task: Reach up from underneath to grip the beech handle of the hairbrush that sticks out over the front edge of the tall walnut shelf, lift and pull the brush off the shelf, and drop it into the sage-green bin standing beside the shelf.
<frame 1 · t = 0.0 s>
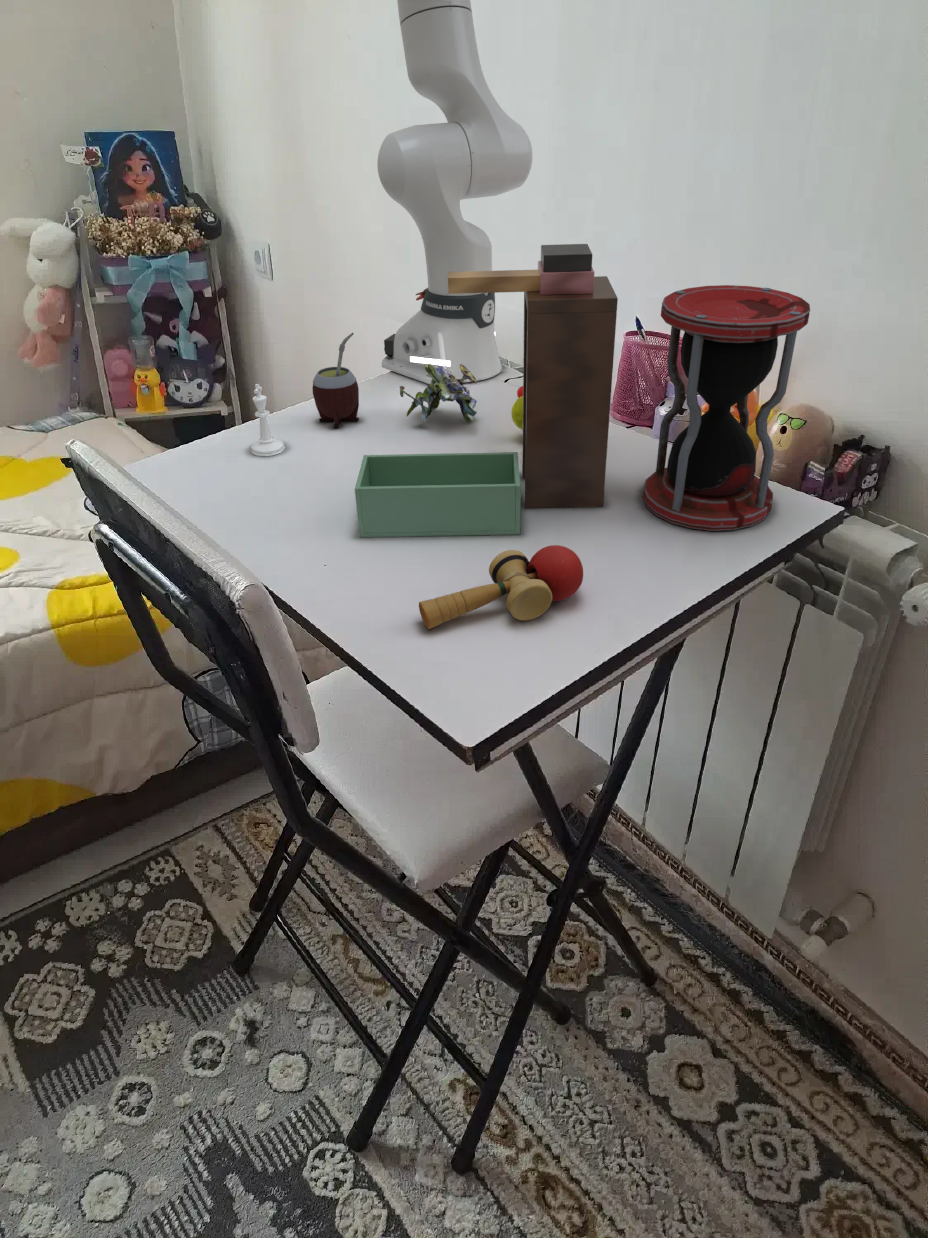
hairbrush: (545, 288, 100), point 26 cm above the table, touching shelf stand
mate gourd: (341, 422, 137), on the table
kendama: (503, 611, 92), on the table
chess piece: (268, 450, 129), on the table
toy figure: (529, 440, 129), on the table
bin: (441, 517, 109), on the table
hourglass: (705, 503, 111), on the table
shelf stand: (561, 490, 115), on the table
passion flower: (442, 424, 135), on the table
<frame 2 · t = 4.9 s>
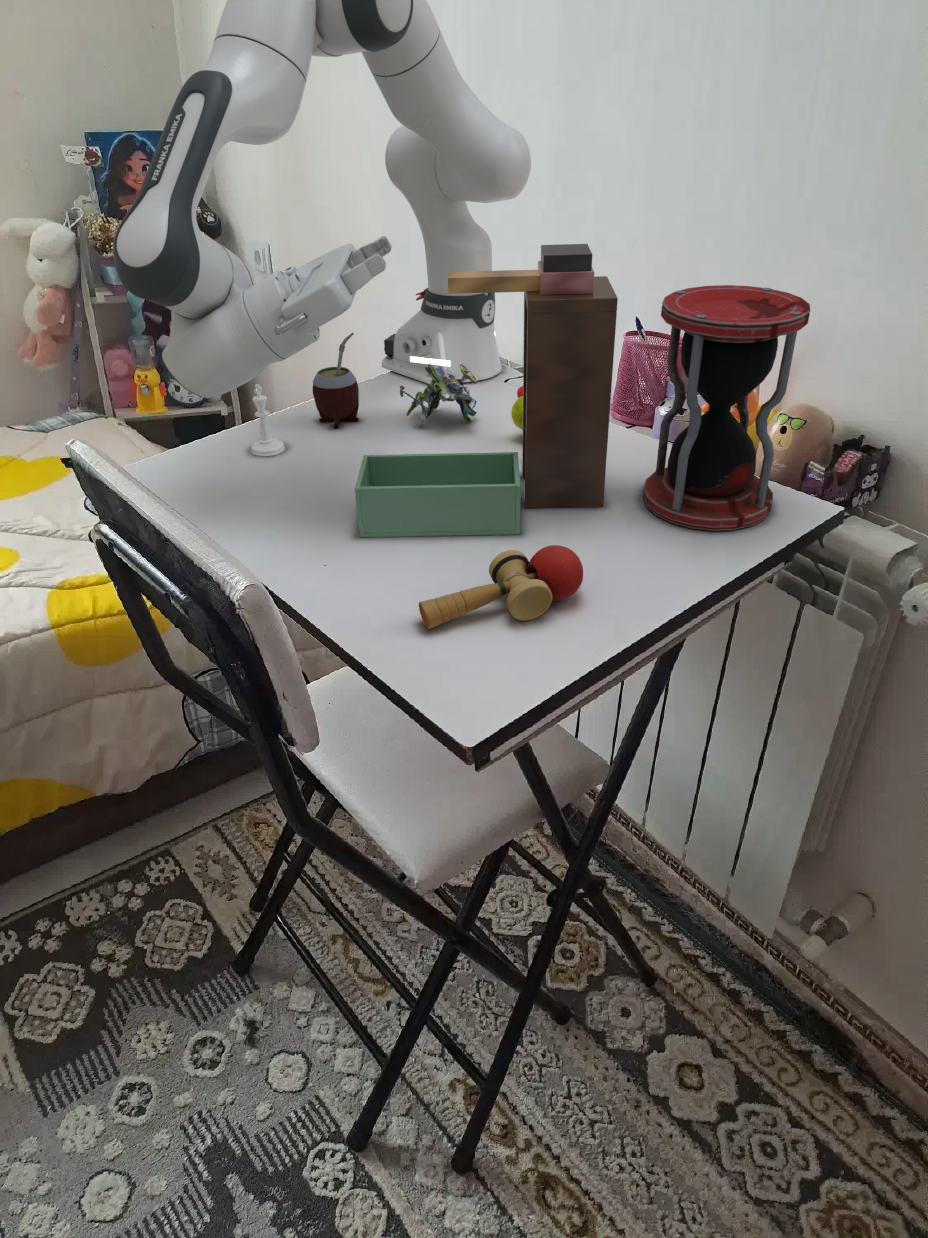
hand: (386, 250, 98), 31 cm above the table, tool pointing upward, fingers open, 8 cm apart
nothing on the table moved.
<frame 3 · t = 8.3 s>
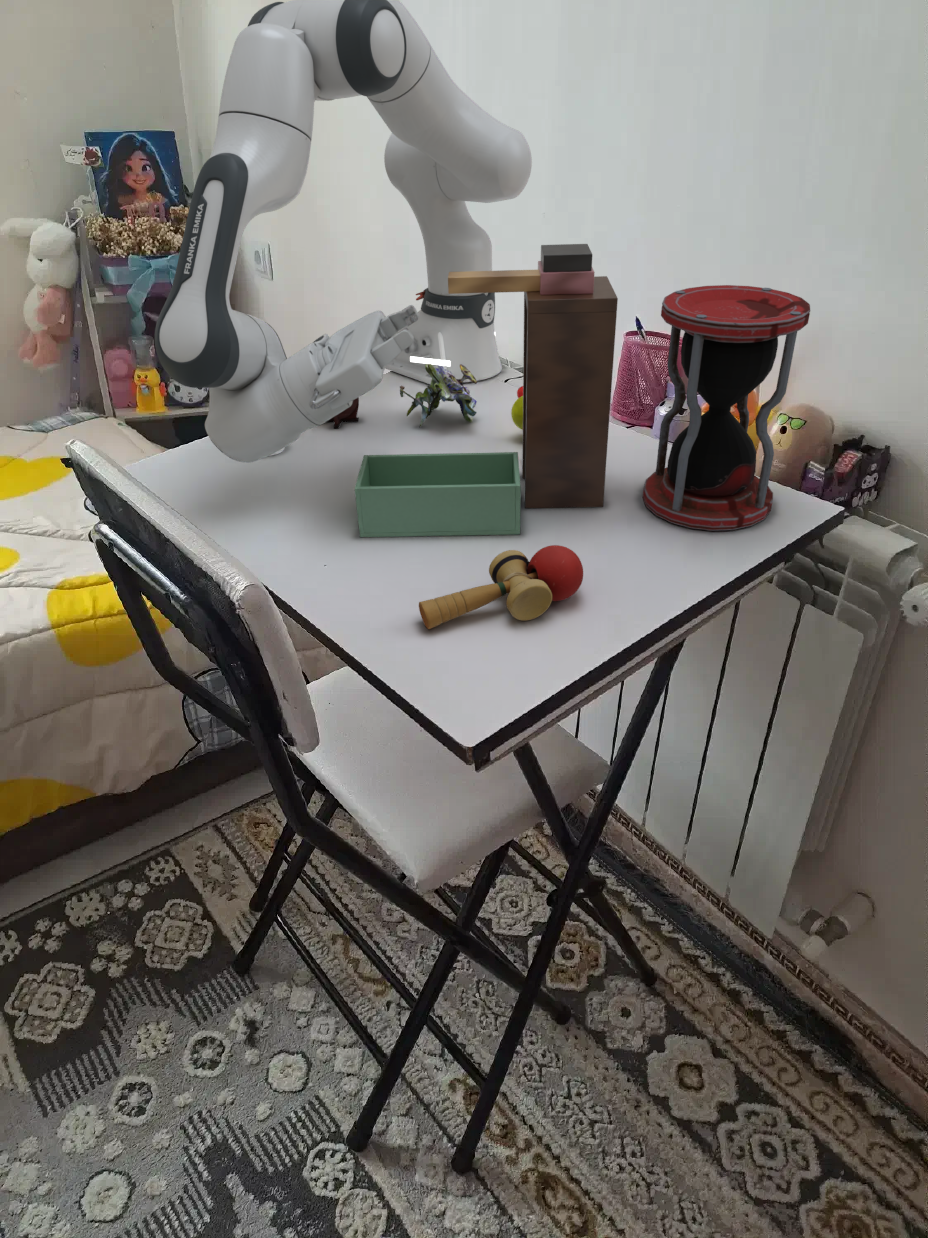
hand: (413, 322, 102), 22 cm above the table, tool pointing upward, fingers open, 8 cm apart
nothing on the table moved.
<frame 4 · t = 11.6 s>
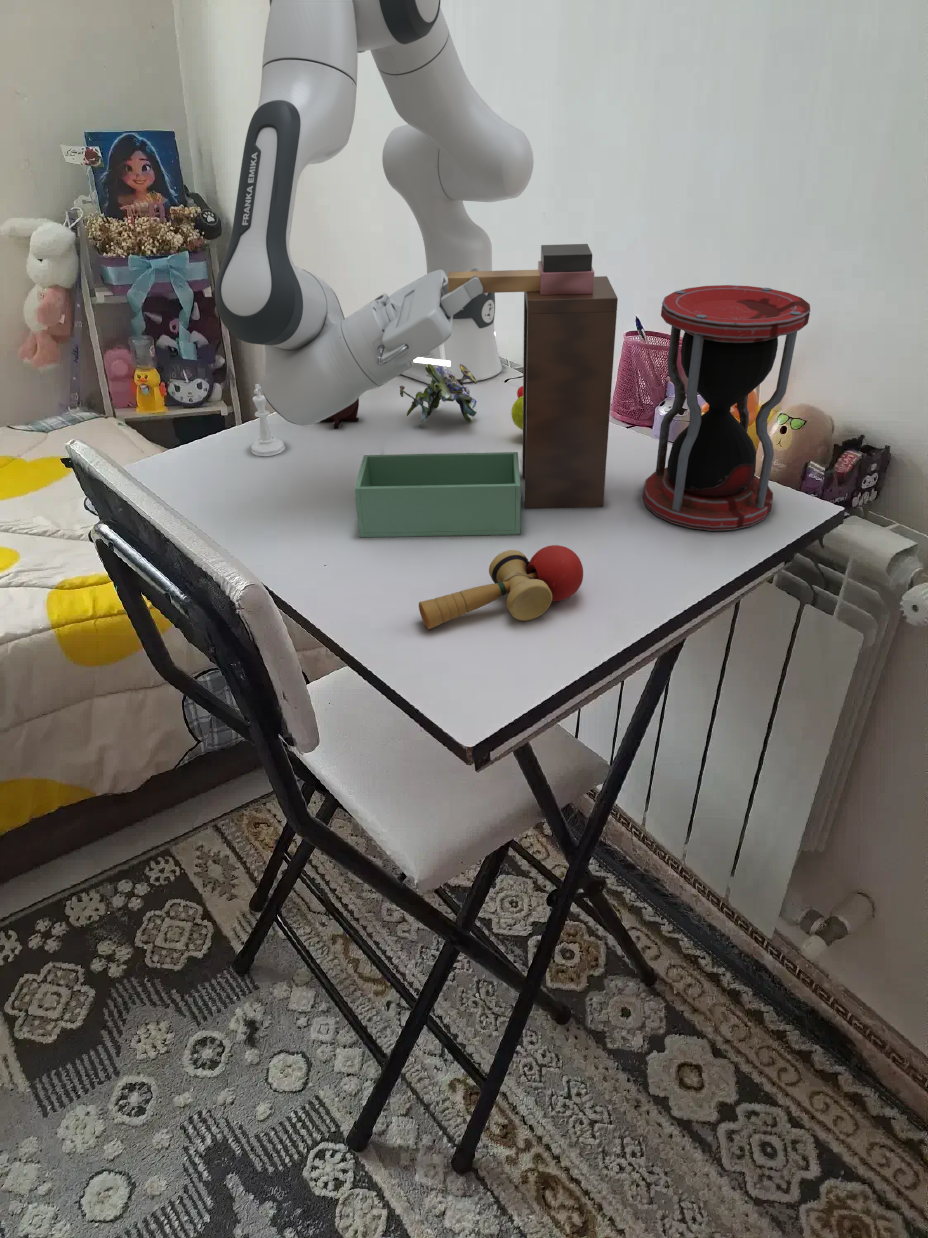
hand: (480, 277, 99), 27 cm above the table, tool pointing upward, fingers closed on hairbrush, 3 cm apart
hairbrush: (545, 288, 100), point 26 cm above the table, touching gripper, shelf stand
everything else where it was.
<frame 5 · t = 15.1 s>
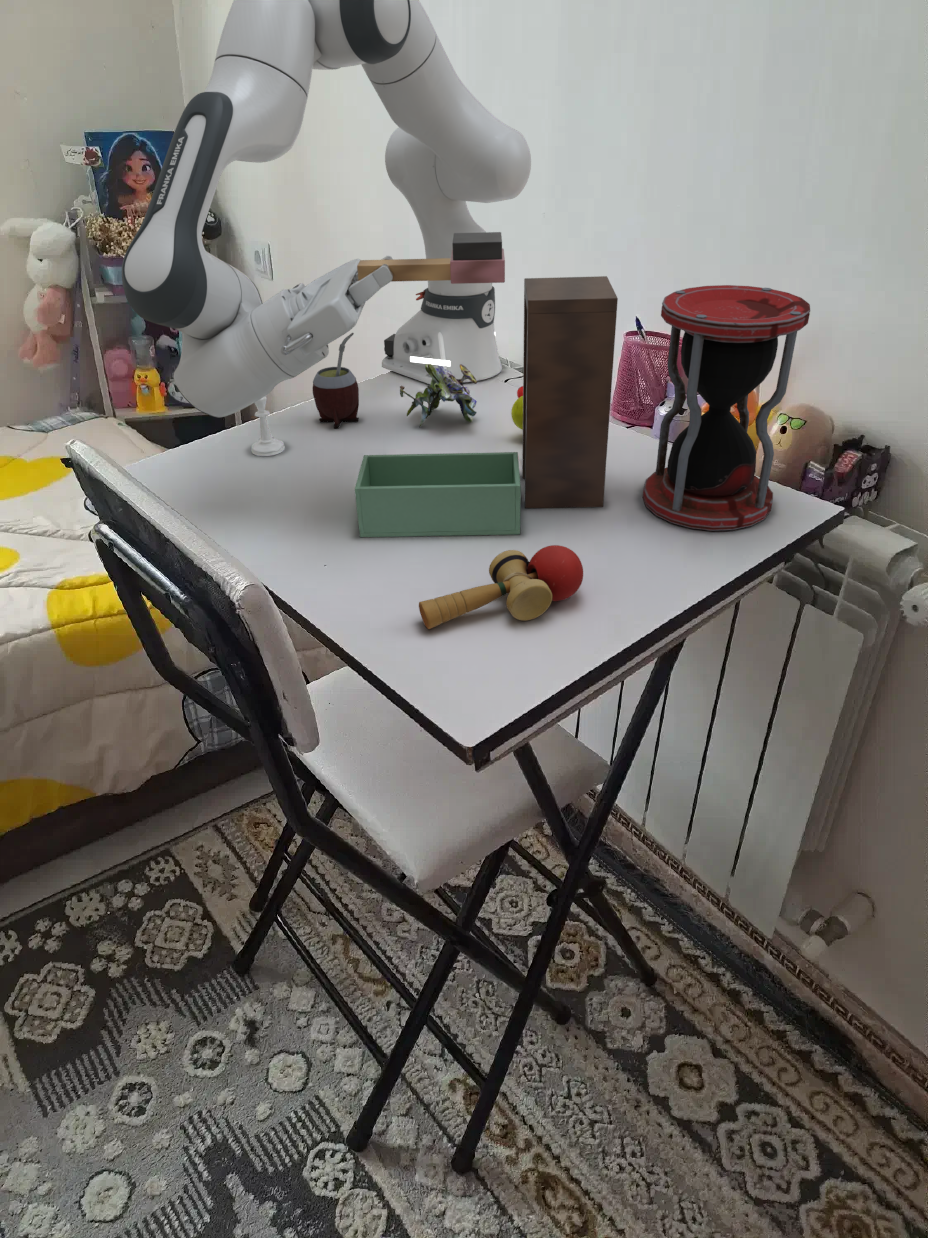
hand: (391, 266, 97), 29 cm above the table, tool pointing upward, fingers closed on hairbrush, 3 cm apart
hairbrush: (458, 277, 98), point 28 cm above the table, touching gripper
everything else where it was.
when the fingers open (17 cm above the table, at t = 18.8 s): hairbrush drops 15 cm, resting on bin.
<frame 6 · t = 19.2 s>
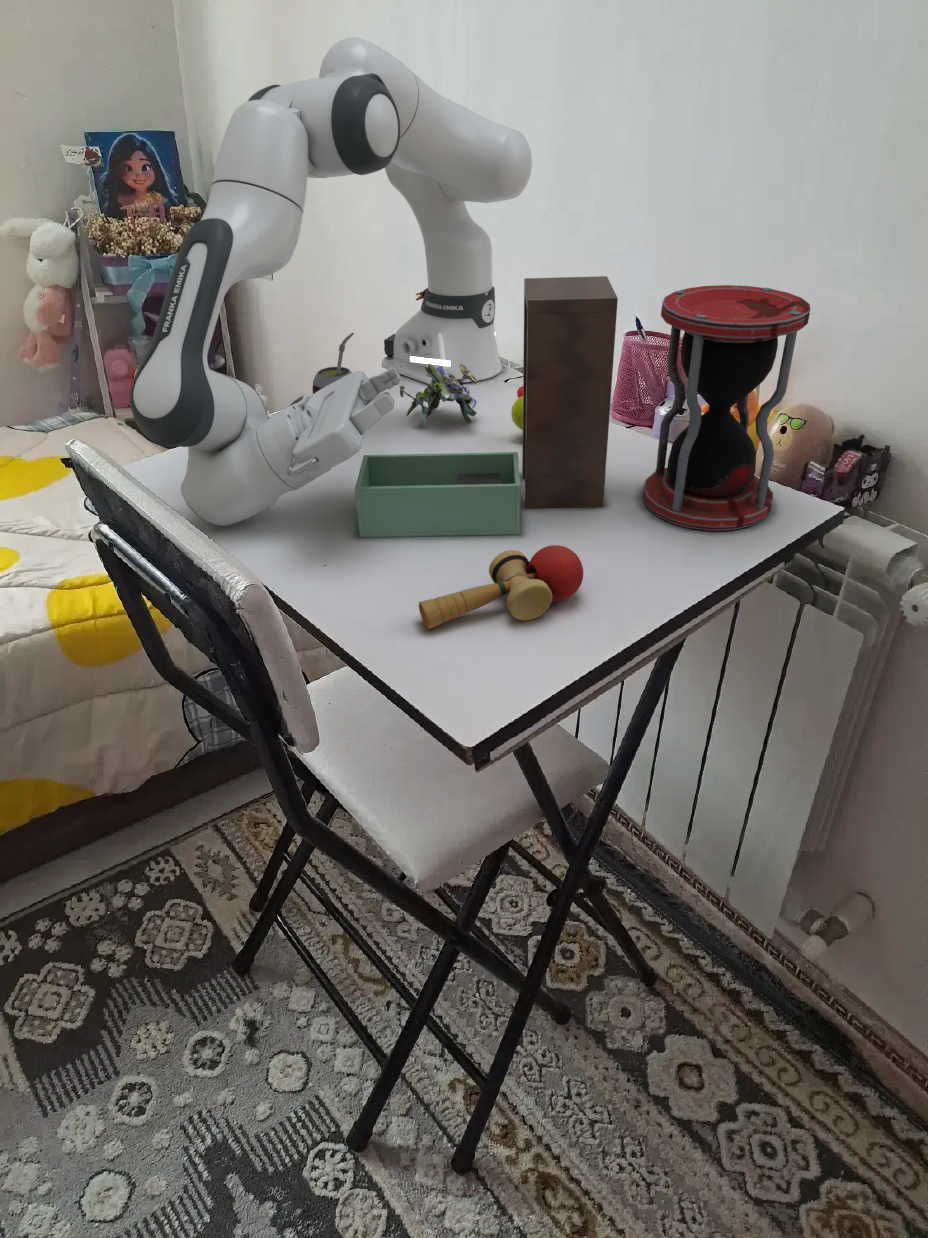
hand: (394, 385, 100), 17 cm above the table, tool pointing upward, fingers open, 7 cm apart
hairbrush: (462, 513, 109), point 1 cm above the table, touching bin
everything else where it was.
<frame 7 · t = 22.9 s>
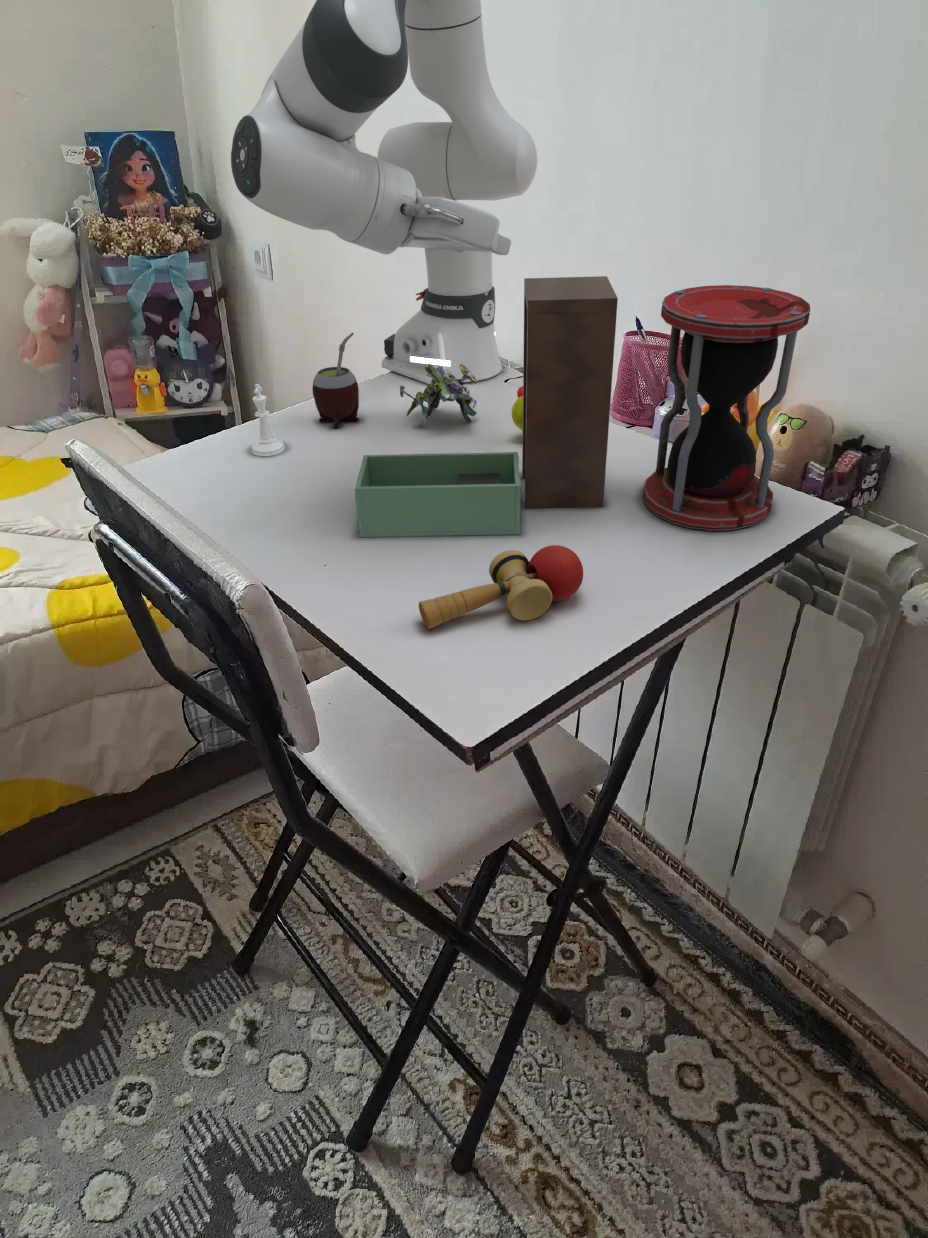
hand: (483, 246, 101), 30 cm above the table, tool tilted 65°, fingers open, 8 cm apart
nothing on the table moved.
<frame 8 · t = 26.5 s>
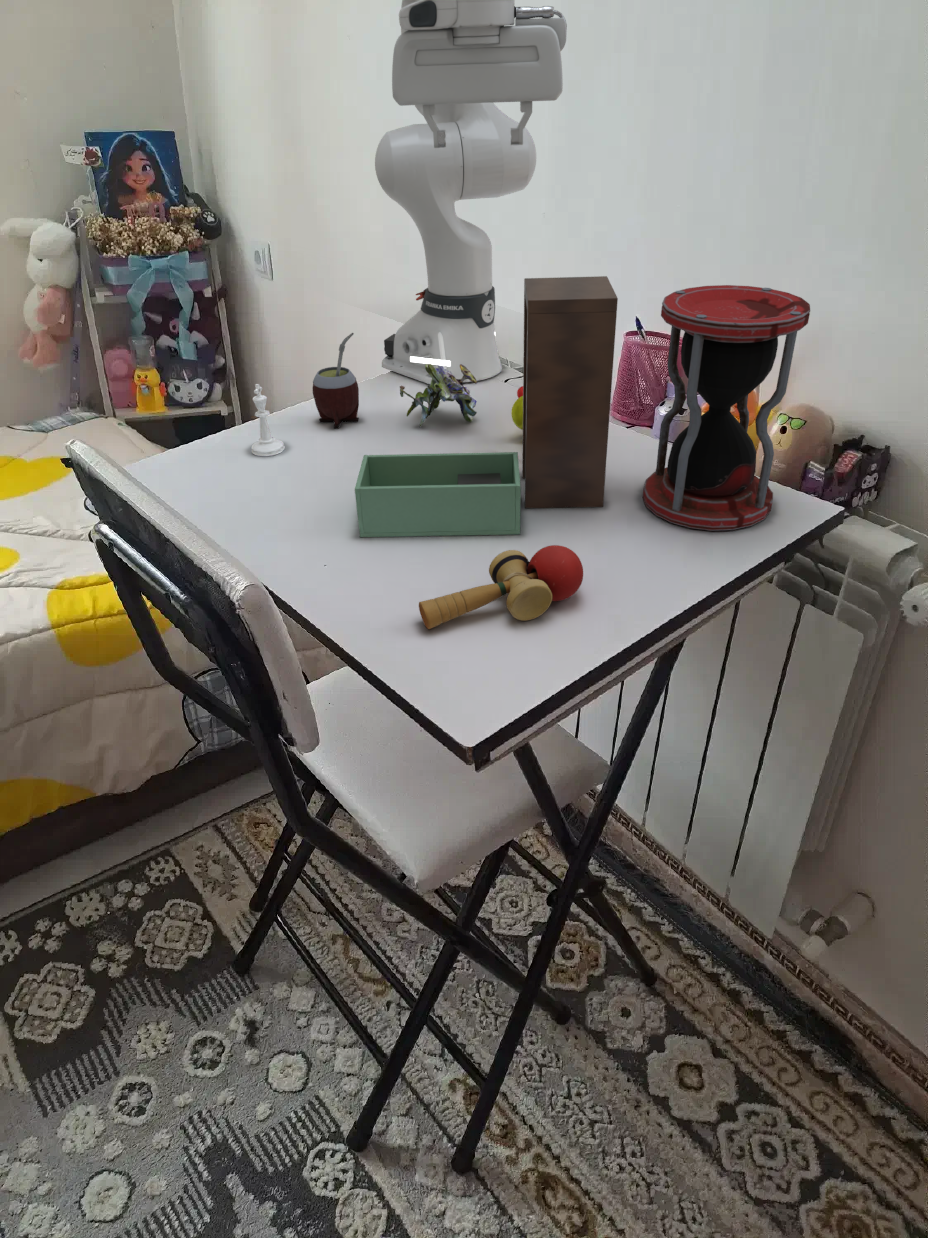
hand: (478, 145, 106), 39 cm above the table, tool pointing down, fingers open, 8 cm apart
nothing on the table moved.
at the end: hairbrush 2.8 cm from the bin (horizontally); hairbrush point 0.6 cm above the table; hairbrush touching bin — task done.
